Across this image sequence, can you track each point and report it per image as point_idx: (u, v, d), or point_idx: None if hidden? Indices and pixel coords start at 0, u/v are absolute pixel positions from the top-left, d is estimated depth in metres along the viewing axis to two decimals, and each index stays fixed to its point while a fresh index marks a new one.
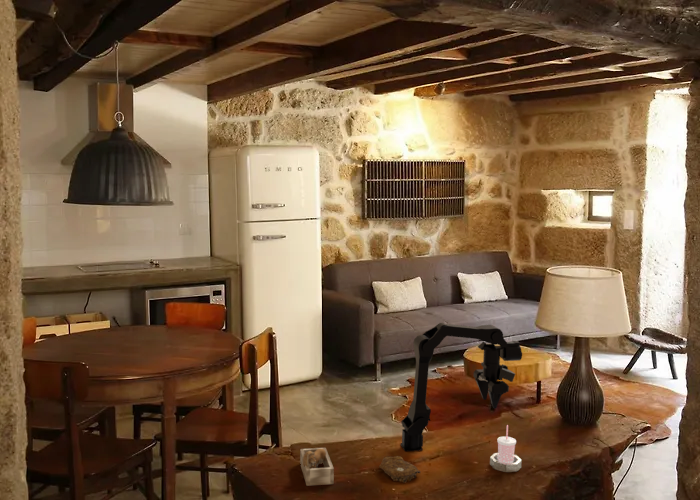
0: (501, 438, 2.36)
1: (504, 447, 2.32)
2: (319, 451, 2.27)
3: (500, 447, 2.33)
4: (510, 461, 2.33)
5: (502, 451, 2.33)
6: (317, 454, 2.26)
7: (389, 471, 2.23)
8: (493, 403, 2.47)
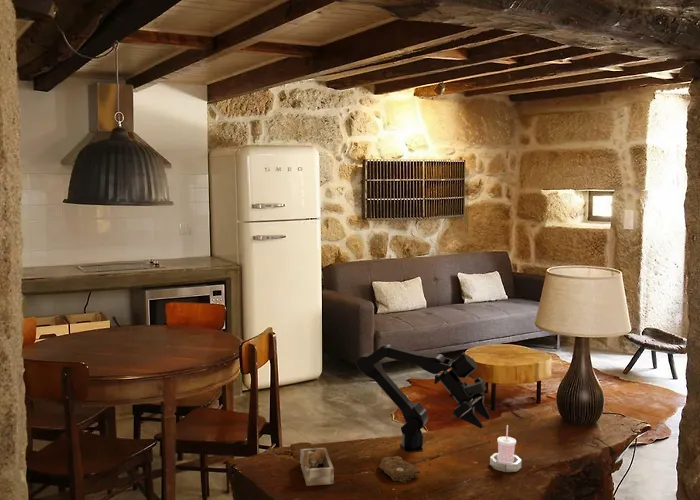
0: (501, 438, 2.36)
1: (504, 447, 2.32)
2: (319, 451, 2.27)
3: (500, 447, 2.33)
4: (510, 461, 2.33)
5: (502, 451, 2.33)
6: (317, 454, 2.26)
7: (389, 471, 2.23)
8: (475, 424, 2.33)
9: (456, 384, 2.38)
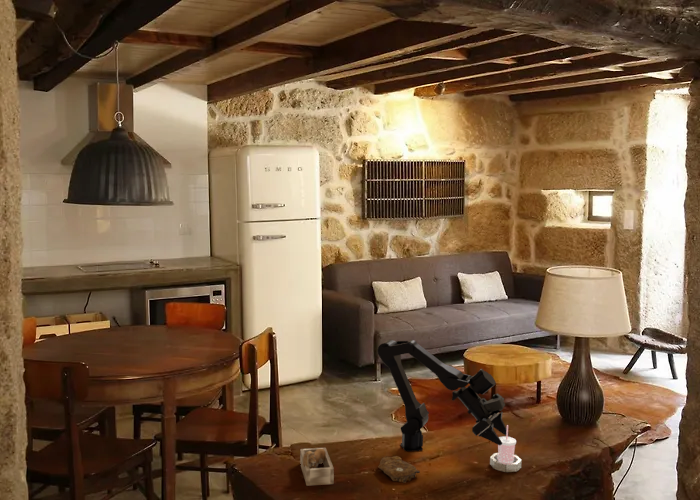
0: (501, 438, 2.36)
1: (504, 447, 2.32)
2: (319, 451, 2.27)
3: (500, 447, 2.33)
4: (510, 461, 2.33)
5: (502, 451, 2.33)
6: (317, 454, 2.26)
7: (389, 471, 2.23)
8: (494, 441, 2.31)
9: (474, 401, 2.36)
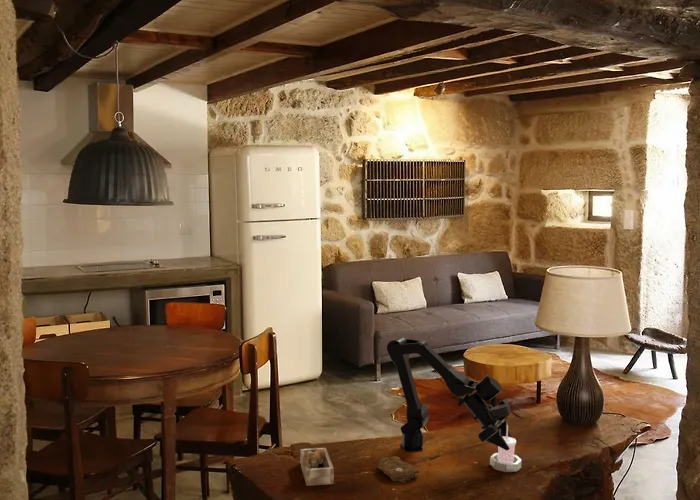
0: None
1: None
2: (319, 451, 2.27)
3: (500, 447, 2.33)
4: (510, 461, 2.33)
5: (502, 451, 2.33)
6: (317, 454, 2.26)
7: (388, 472, 2.23)
8: (501, 446, 2.31)
9: (481, 407, 2.35)
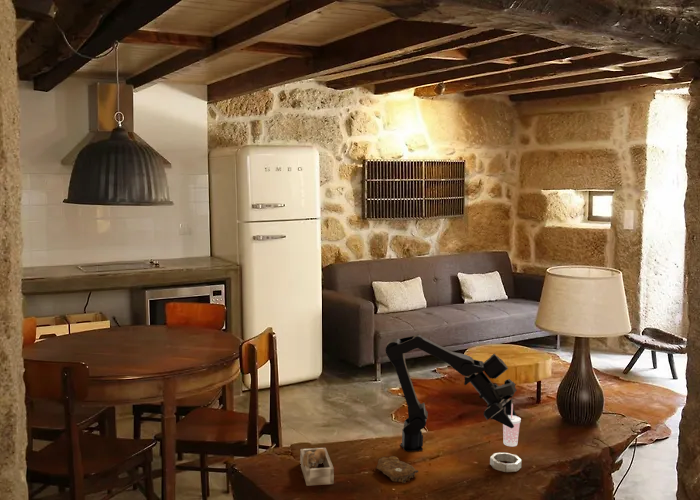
0: None
1: None
2: (319, 451, 2.27)
3: (505, 425, 2.38)
4: (515, 439, 2.37)
5: (507, 429, 2.37)
6: (317, 454, 2.26)
7: (388, 472, 2.22)
8: (506, 424, 2.36)
9: (486, 385, 2.39)
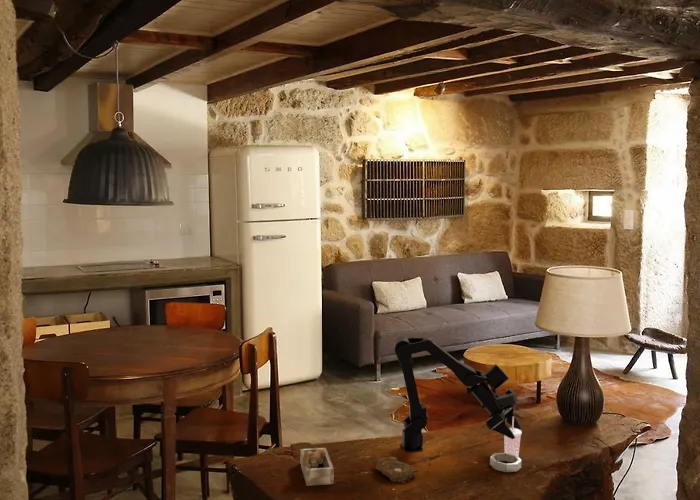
0: None
1: (510, 438, 2.40)
2: (319, 451, 2.27)
3: (506, 438, 2.41)
4: (516, 451, 2.41)
5: (508, 442, 2.41)
6: (317, 454, 2.26)
7: (387, 472, 2.22)
8: (507, 435, 2.38)
9: (488, 396, 2.43)
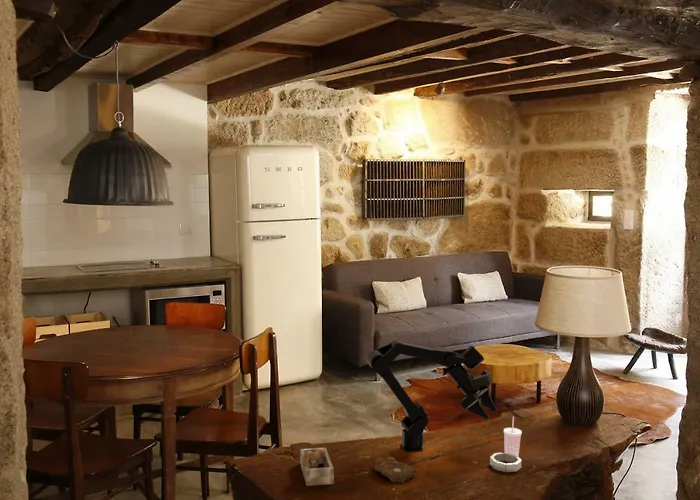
0: (507, 429, 2.44)
1: (510, 438, 2.40)
2: (319, 451, 2.27)
3: (506, 438, 2.41)
4: (516, 451, 2.41)
5: (508, 442, 2.41)
6: (317, 454, 2.26)
7: (387, 473, 2.22)
8: (481, 415, 2.41)
9: (463, 376, 2.46)
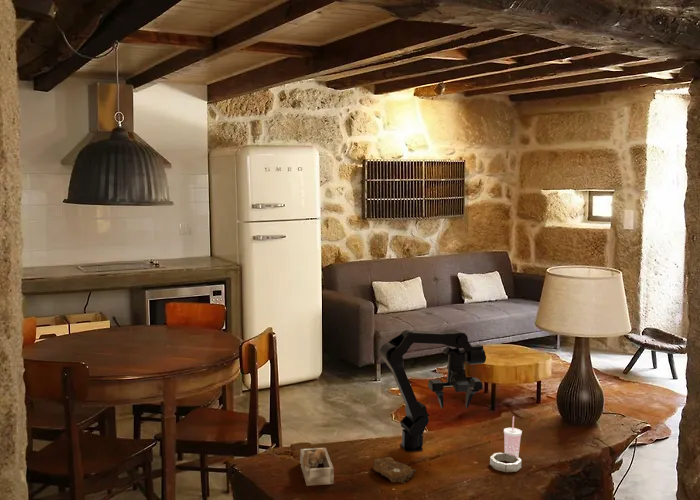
0: (507, 429, 2.44)
1: (510, 438, 2.40)
2: (319, 451, 2.27)
3: (506, 438, 2.41)
4: (516, 451, 2.41)
5: (508, 442, 2.41)
6: (317, 454, 2.26)
7: (387, 473, 2.22)
8: (439, 402, 2.52)
9: (451, 366, 2.48)
